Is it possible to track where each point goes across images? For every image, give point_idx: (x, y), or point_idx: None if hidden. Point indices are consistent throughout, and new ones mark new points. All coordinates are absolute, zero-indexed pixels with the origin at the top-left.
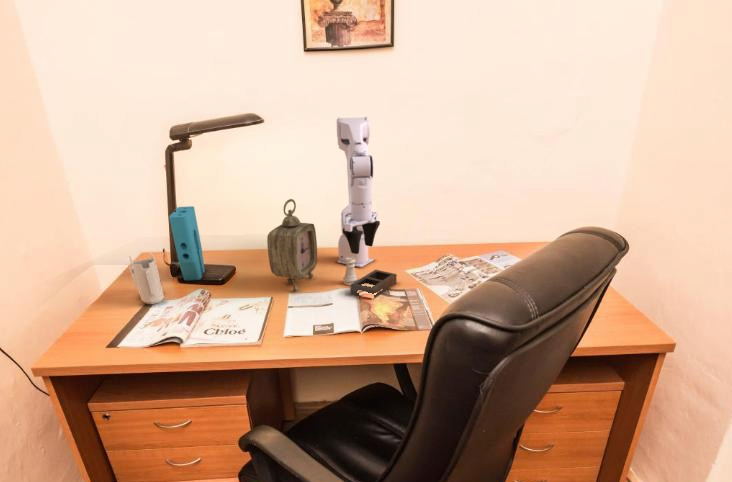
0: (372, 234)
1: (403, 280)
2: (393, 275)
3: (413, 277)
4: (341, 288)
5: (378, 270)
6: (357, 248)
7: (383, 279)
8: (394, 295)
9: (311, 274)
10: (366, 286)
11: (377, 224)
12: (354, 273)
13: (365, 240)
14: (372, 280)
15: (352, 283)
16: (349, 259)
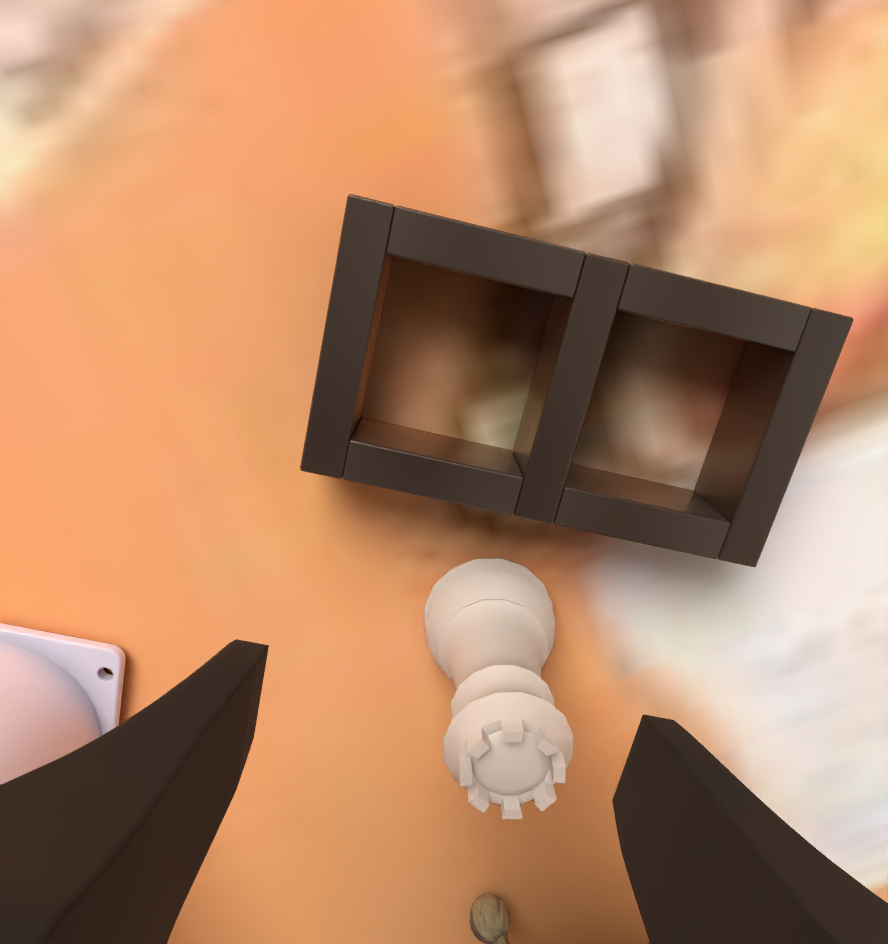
0: (186, 775)
1: (254, 154)
2: (401, 219)
3: (129, 63)
4: (614, 638)
5: (316, 431)
6: (735, 780)
7: (372, 347)
8: (655, 134)
9: (502, 923)
10: (777, 408)
11: (5, 905)
12: (501, 623)
13: (228, 797)
14: (584, 407)
15: (728, 560)
16: (553, 763)
